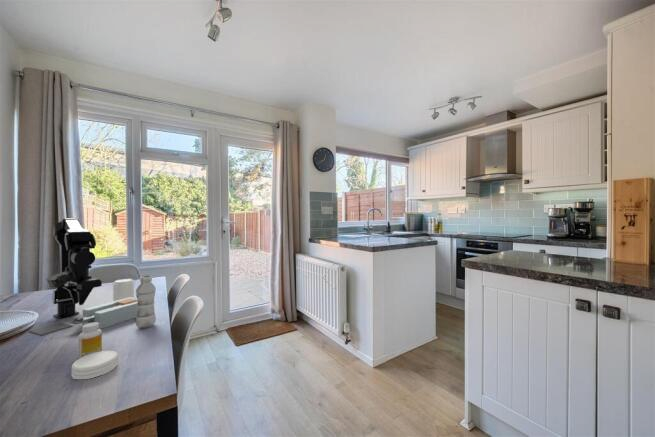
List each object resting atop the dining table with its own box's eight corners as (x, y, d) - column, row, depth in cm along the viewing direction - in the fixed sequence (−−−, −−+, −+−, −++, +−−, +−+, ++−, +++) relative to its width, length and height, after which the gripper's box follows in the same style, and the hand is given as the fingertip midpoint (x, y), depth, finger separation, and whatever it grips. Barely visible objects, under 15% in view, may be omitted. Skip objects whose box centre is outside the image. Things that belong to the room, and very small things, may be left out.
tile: (116, 307, 116) (116, 301, 116) (129, 303, 120) (129, 298, 120) (123, 308, 114) (124, 303, 114) (136, 305, 118) (136, 300, 118)
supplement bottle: (105, 352, 85) (105, 322, 85) (85, 361, 80) (86, 329, 80) (94, 349, 87) (94, 320, 87) (74, 357, 82) (74, 326, 82)
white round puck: (126, 363, 79) (126, 352, 79) (89, 384, 70) (90, 370, 70) (100, 359, 82) (100, 348, 82) (61, 378, 72) (61, 365, 72)
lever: (76, 324, 99) (76, 321, 99) (70, 323, 101) (70, 319, 101) (135, 307, 119) (135, 304, 119) (130, 306, 120) (130, 303, 120)
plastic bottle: (159, 325, 107) (159, 275, 107) (141, 331, 101) (142, 279, 101) (149, 322, 110) (149, 274, 110) (131, 328, 104) (132, 277, 104)
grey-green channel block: (99, 329, 103) (100, 313, 103) (82, 323, 108) (82, 309, 107) (146, 313, 119) (147, 300, 119) (130, 309, 124) (130, 297, 124)
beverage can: (125, 307, 127) (125, 282, 127) (108, 307, 128) (108, 282, 128) (137, 302, 136) (137, 278, 136) (122, 301, 136) (122, 278, 136)
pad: (28, 331, 100) (28, 330, 100) (60, 322, 108) (60, 321, 108) (40, 335, 97) (40, 334, 97) (72, 326, 105) (72, 325, 105)
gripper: (37, 265, 98) (37, 307, 98) (64, 269, 90) (64, 315, 90) (75, 260, 108) (75, 298, 108) (102, 264, 101) (102, 305, 101)
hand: (78, 304), depth 101 cm, fingers open, 3 cm apart
